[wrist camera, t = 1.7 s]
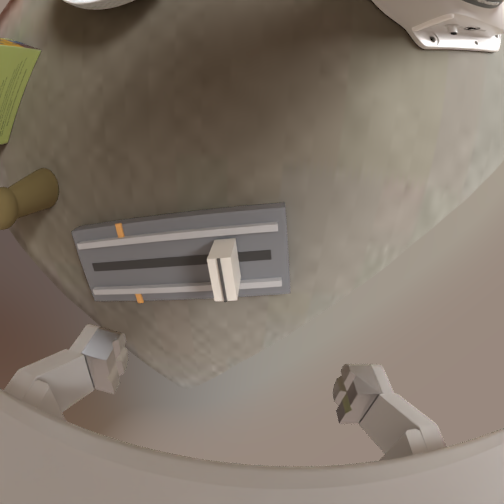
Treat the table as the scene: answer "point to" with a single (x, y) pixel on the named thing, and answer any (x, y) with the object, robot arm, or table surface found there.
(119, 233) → the pair of orange ticks
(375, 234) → the table surface
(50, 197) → the cork
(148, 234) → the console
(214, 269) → the fader tab
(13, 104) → the protein box
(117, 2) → the cereal bowl
